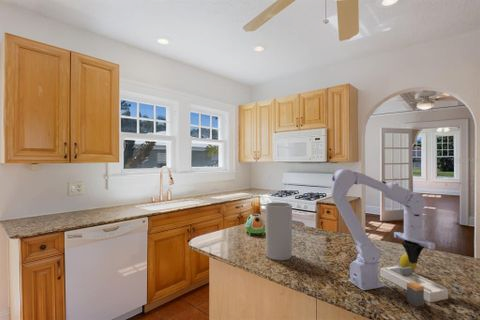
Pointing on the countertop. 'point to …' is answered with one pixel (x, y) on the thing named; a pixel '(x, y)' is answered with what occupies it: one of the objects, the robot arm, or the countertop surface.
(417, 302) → the orange and grey block
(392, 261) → the countertop surface
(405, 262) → the lemon
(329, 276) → the countertop surface
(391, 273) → the socket board
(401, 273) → the shutter
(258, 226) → the turtle holder
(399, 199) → the robot arm
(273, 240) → the cylinder vase
